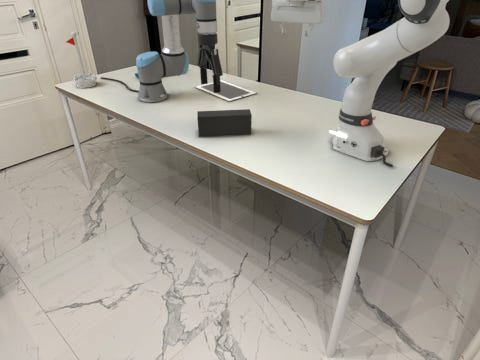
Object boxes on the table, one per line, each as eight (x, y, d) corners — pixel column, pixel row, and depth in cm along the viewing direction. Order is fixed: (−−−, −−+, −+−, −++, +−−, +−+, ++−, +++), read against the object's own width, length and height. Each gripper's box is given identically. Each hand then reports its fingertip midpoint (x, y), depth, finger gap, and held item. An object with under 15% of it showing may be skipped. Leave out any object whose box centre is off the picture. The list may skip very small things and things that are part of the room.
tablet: (194, 87, 200) (194, 86, 200) (221, 80, 211) (221, 79, 211) (229, 101, 180) (229, 101, 180) (256, 93, 191) (256, 92, 191)
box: (249, 128, 152) (249, 109, 147) (251, 134, 147) (251, 114, 142) (198, 130, 150) (197, 111, 145) (198, 137, 145) (197, 117, 140)
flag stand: (97, 80, 212) (85, 28, 195) (98, 86, 202) (85, 32, 185) (75, 83, 208) (61, 30, 191) (74, 89, 198) (59, 34, 181)
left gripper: (187, 29, 137) (191, 81, 149) (211, 38, 119) (214, 98, 130) (204, 28, 140) (207, 79, 152) (230, 37, 121) (231, 95, 133)
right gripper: (269, -6, 126) (267, 34, 133) (323, -4, 118) (318, 38, 125) (275, -7, 130) (273, 32, 138) (328, -5, 122) (323, 36, 130)
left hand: (210, 88), depth 141 cm, fingers open, 13 cm apart
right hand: (295, 35), depth 131 cm, fingers open, 8 cm apart
